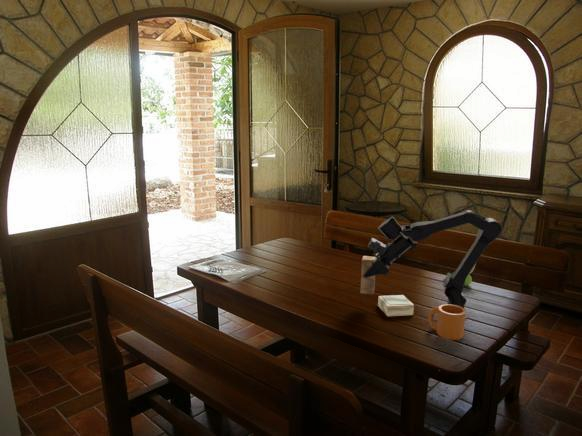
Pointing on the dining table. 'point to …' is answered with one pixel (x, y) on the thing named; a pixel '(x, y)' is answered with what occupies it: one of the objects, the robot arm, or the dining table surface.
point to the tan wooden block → (367, 282)
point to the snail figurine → (469, 278)
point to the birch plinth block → (395, 305)
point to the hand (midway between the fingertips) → (364, 274)
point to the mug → (448, 321)
